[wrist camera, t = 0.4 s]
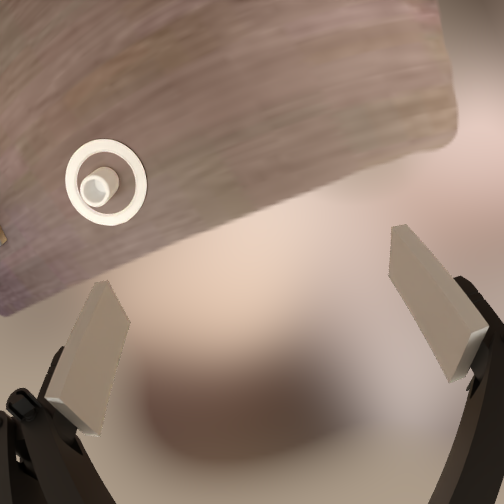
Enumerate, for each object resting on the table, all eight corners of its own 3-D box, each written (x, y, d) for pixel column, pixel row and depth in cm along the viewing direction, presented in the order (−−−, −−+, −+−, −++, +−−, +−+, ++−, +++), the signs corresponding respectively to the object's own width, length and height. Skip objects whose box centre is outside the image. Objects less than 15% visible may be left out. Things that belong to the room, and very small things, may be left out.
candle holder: (132, 235, 43) (123, 250, 39) (60, 204, 39) (46, 217, 36) (161, 157, 38) (153, 166, 34) (81, 125, 34) (66, 131, 31)
